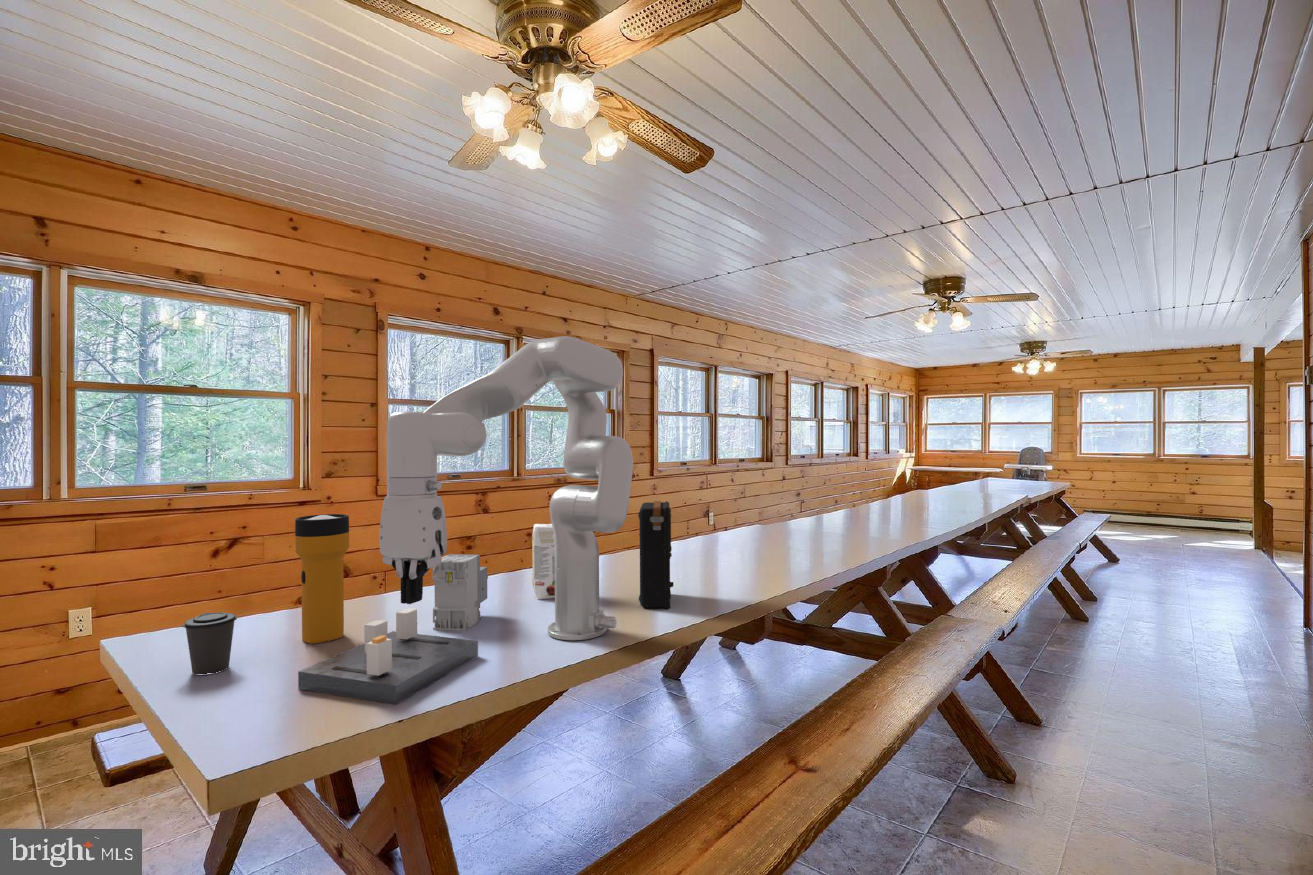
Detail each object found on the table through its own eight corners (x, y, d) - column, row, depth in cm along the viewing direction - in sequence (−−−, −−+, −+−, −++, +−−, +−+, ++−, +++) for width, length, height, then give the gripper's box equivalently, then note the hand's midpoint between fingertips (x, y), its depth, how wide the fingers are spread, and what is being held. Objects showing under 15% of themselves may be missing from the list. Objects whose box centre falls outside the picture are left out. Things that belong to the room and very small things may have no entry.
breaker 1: (387, 648, 111) (387, 621, 111) (375, 653, 108) (375, 625, 108) (377, 646, 112) (376, 619, 112) (364, 652, 109) (364, 624, 109)
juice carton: (567, 598, 158) (567, 525, 158) (534, 600, 156) (533, 527, 156) (563, 591, 165) (563, 521, 165) (531, 593, 163) (531, 523, 163)
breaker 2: (417, 634, 119) (417, 609, 119) (406, 639, 116) (406, 613, 116) (407, 633, 120) (407, 608, 120) (396, 638, 117) (396, 612, 117)
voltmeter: (674, 610, 147) (673, 507, 147) (638, 610, 147) (637, 507, 147) (673, 593, 162) (672, 500, 162) (640, 593, 162) (640, 500, 162)
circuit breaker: (490, 611, 146) (489, 549, 146) (465, 630, 132) (465, 561, 132) (460, 611, 147) (459, 549, 147) (432, 629, 133) (432, 561, 133)
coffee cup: (206, 661, 115) (206, 608, 115) (248, 661, 114) (247, 608, 114) (170, 678, 106) (170, 621, 106) (215, 678, 106) (215, 621, 106)
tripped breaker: (391, 668, 101) (391, 635, 101) (378, 675, 98) (378, 641, 98) (380, 667, 102) (380, 634, 102) (366, 674, 99) (366, 639, 99)
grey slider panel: (477, 656, 116) (477, 640, 116) (396, 704, 95) (395, 684, 95) (392, 646, 122) (392, 630, 122) (298, 689, 101) (298, 670, 101)
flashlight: (356, 514, 128) (304, 519, 121) (357, 637, 128) (305, 649, 121) (338, 511, 135) (288, 515, 128) (339, 627, 135) (289, 638, 128)
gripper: (465, 487, 99) (465, 599, 99) (391, 485, 104) (390, 593, 103) (436, 490, 92) (435, 612, 92) (357, 488, 97) (356, 603, 96)
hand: (411, 601), depth 98 cm, fingers closed
